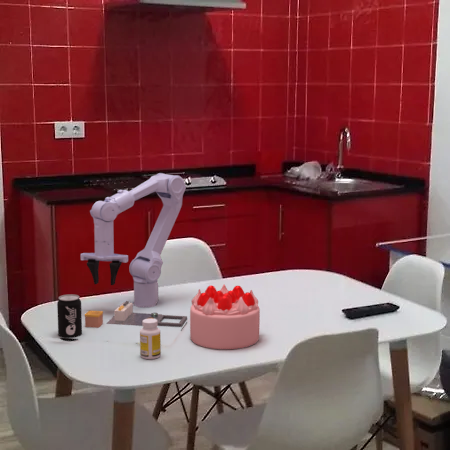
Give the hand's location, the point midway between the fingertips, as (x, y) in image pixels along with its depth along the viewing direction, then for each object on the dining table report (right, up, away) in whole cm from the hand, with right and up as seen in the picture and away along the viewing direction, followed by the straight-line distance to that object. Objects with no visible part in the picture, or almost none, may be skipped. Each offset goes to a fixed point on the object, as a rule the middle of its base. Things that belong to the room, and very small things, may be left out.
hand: (104, 284), depth 233 cm
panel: (+10, -11, -4) cm, 16 cm away
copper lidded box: (-1, -13, -10) cm, 16 cm away
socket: (+21, -12, -7) cm, 25 cm away
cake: (+37, -14, -17) cm, 43 cm away
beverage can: (-7, -14, -18) cm, 24 cm away
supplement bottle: (+17, -17, -32) cm, 40 cm away
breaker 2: (+7, -9, +1) cm, 11 cm away
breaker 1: (+6, -10, -4) cm, 12 cm away
